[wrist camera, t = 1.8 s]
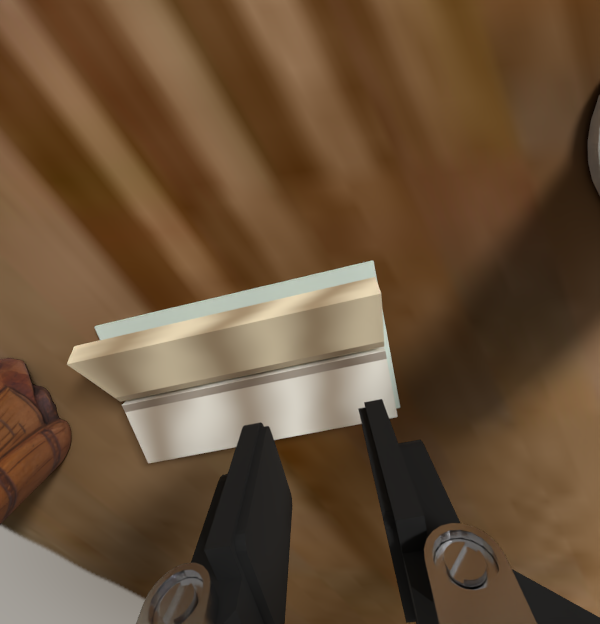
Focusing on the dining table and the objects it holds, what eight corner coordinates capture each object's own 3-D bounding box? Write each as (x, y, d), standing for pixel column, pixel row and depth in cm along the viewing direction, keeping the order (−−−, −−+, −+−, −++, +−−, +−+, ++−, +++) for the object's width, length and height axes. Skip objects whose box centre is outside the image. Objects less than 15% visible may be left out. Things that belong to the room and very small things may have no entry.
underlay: (372, 260, 23) (373, 261, 23) (399, 405, 27) (400, 407, 27) (96, 325, 26) (94, 326, 25) (153, 452, 29) (151, 454, 29)
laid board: (381, 342, 25) (385, 350, 24) (393, 406, 27) (397, 416, 25) (131, 395, 27) (121, 405, 26) (156, 451, 29) (148, 463, 27)
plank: (375, 276, 20) (381, 293, 19) (379, 330, 24) (384, 346, 24) (74, 346, 22) (66, 364, 22) (124, 385, 27) (120, 401, 26)
